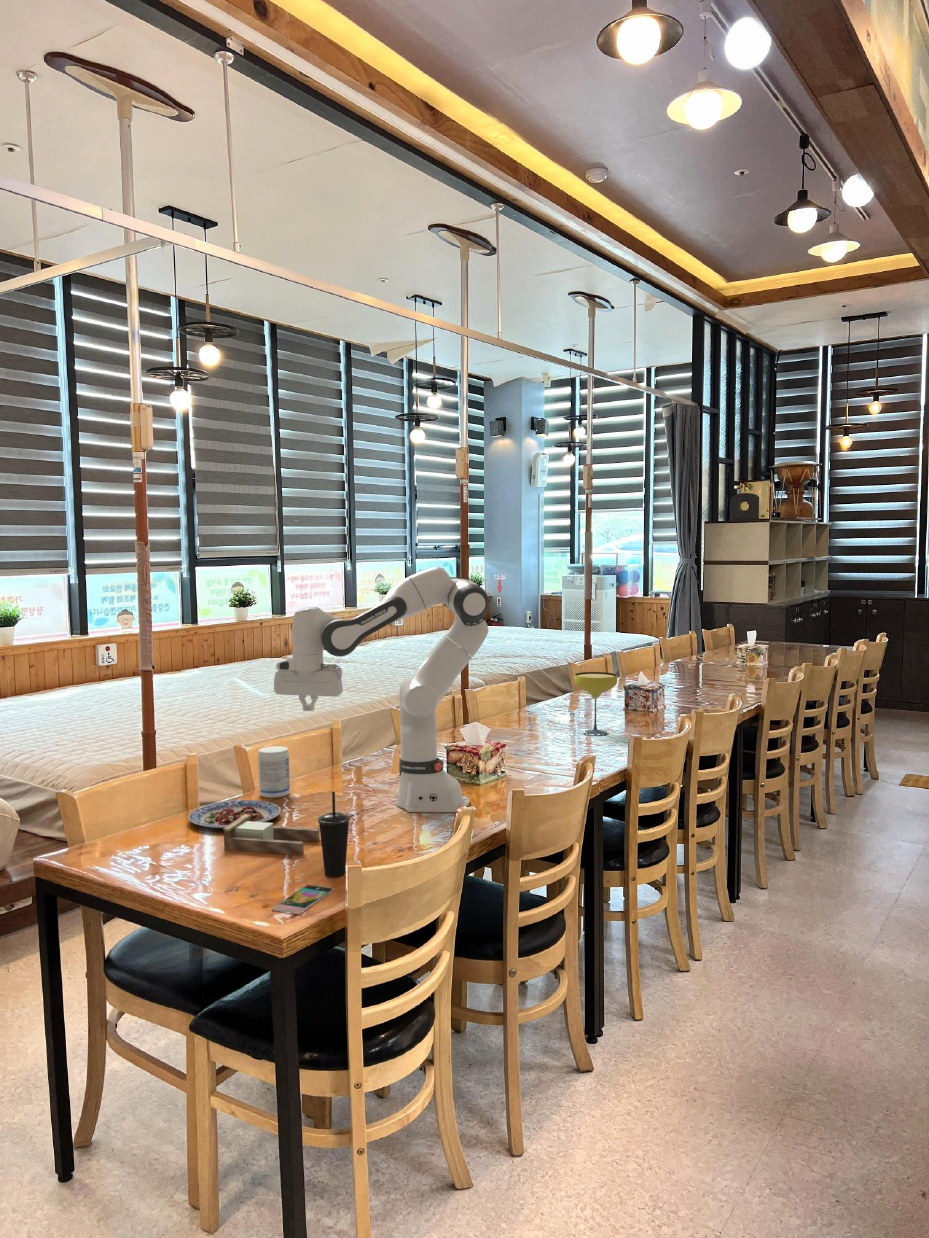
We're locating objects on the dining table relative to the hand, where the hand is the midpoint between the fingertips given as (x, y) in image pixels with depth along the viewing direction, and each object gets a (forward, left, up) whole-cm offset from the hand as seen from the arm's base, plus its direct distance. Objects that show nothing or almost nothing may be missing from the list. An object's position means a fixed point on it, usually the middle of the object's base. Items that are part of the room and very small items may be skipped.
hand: (308, 710), depth 251 cm
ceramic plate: (+20, +8, -32) cm, 38 cm away
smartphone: (-23, +58, -32) cm, 70 cm away
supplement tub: (+20, -18, -31) cm, 41 cm away
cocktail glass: (-73, -132, -31) cm, 154 cm away
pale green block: (+5, +26, -31) cm, 41 cm away
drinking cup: (-24, +42, -31) cm, 58 cm away
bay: (-1, +26, -31) cm, 40 cm away
